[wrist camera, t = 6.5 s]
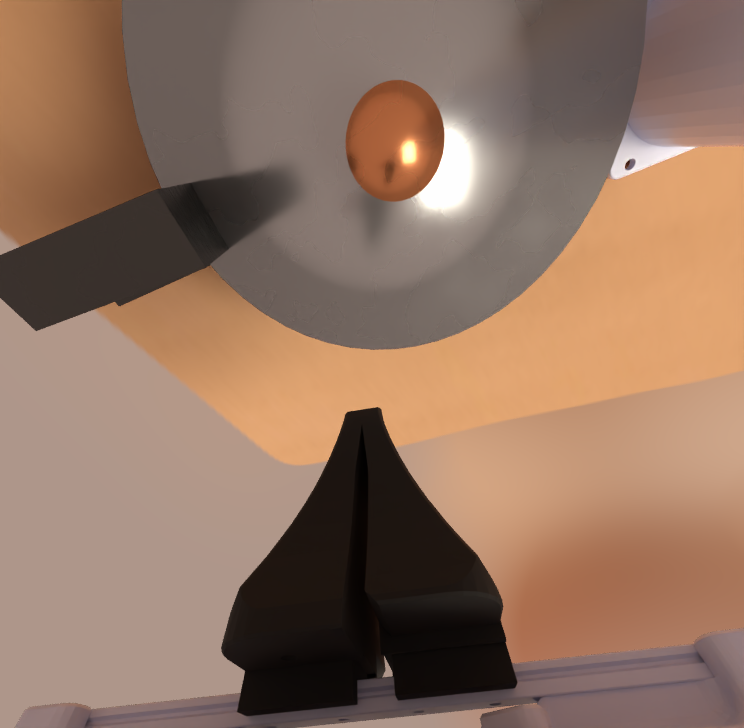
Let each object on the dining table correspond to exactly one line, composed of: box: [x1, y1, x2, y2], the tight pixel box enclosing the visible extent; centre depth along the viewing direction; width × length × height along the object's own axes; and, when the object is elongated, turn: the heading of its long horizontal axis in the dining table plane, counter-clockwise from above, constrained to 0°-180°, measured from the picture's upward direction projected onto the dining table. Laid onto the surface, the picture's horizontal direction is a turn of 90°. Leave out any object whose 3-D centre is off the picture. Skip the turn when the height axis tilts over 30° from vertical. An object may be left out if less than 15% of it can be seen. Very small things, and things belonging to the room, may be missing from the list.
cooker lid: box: [0, 0, 647, 350], centre depth 11 cm, size 22×16×3 cm
